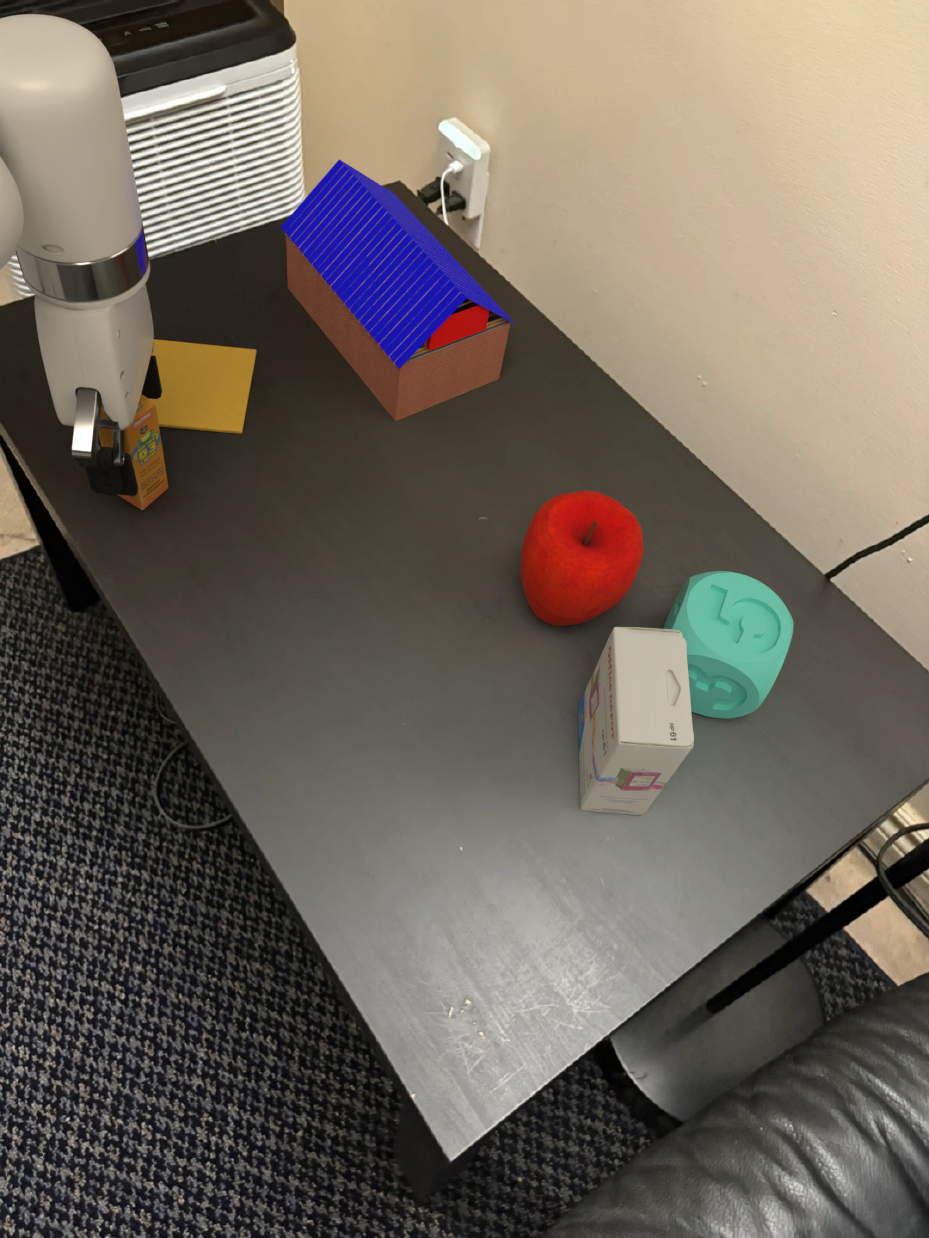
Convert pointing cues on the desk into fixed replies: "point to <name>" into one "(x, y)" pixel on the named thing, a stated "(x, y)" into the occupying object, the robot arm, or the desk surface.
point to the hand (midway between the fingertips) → (129, 441)
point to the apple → (579, 557)
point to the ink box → (634, 720)
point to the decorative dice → (730, 641)
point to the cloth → (203, 385)
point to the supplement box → (142, 453)
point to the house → (391, 295)
